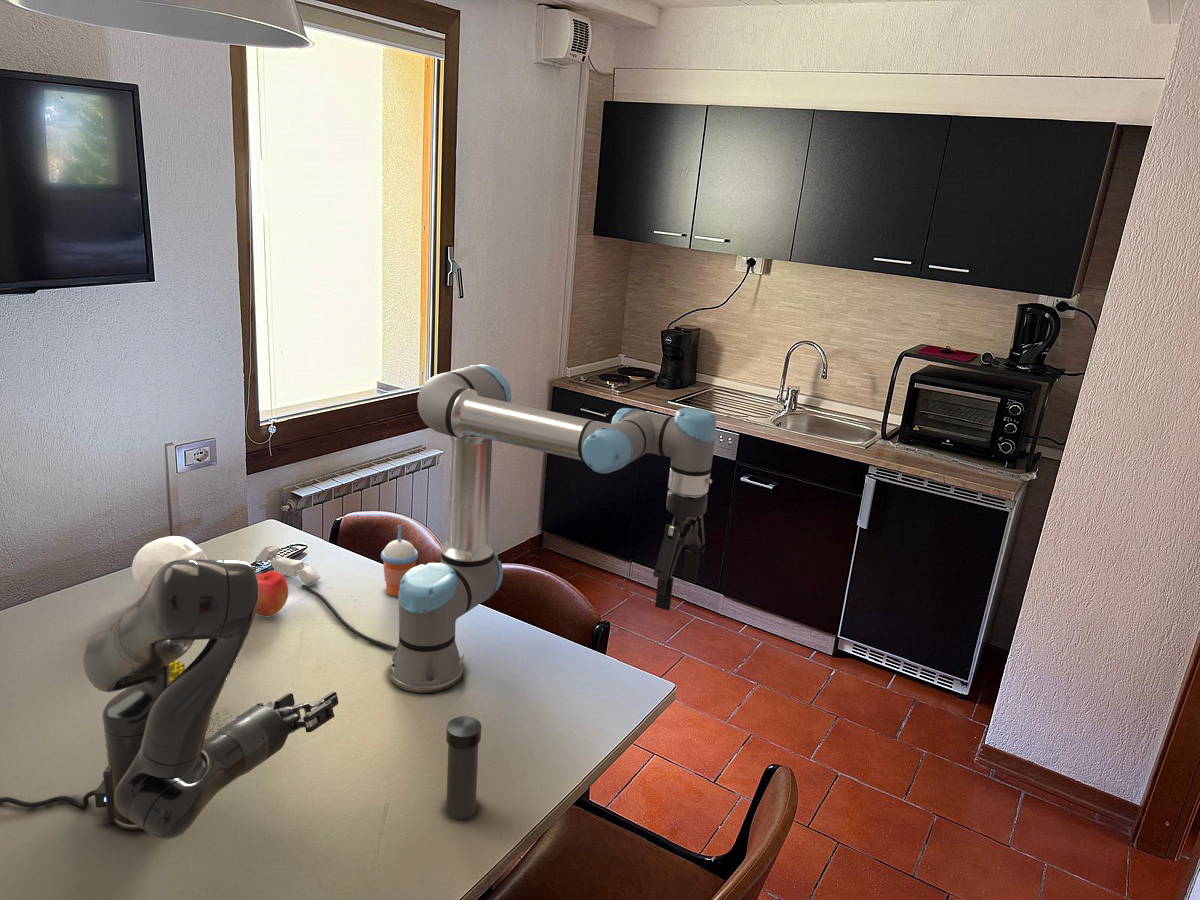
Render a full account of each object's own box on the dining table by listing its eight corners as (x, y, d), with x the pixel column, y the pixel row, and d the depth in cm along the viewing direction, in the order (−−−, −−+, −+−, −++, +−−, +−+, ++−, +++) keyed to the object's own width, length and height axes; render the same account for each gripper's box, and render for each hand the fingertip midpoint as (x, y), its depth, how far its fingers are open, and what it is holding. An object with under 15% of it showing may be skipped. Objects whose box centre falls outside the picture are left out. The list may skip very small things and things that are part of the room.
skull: (197, 623, 194) (195, 558, 190) (119, 603, 200) (115, 540, 196) (237, 600, 207) (236, 539, 203) (163, 582, 212) (160, 522, 208)
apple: (273, 600, 207) (272, 562, 204) (297, 613, 202) (296, 575, 199) (237, 614, 200) (234, 575, 197) (261, 628, 194) (259, 588, 191)
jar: (481, 811, 144) (484, 731, 140) (456, 823, 141) (458, 741, 136) (465, 795, 148) (468, 716, 143) (440, 806, 145) (442, 726, 140)
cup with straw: (408, 601, 212) (409, 534, 207) (374, 595, 213) (374, 529, 208) (423, 586, 220) (424, 521, 215) (390, 580, 222) (390, 516, 217)
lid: (487, 741, 140) (487, 728, 139) (458, 753, 137) (458, 741, 136) (468, 724, 144) (469, 712, 143) (439, 736, 140) (440, 723, 140)
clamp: (253, 565, 223) (254, 542, 221) (265, 560, 226) (266, 537, 224) (309, 593, 215) (310, 569, 213) (320, 588, 218) (321, 564, 216)
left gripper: (282, 717, 123) (346, 674, 138) (202, 718, 127) (273, 677, 143) (291, 766, 124) (354, 719, 139) (211, 766, 128) (281, 720, 143)
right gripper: (681, 516, 147) (669, 626, 153) (728, 478, 168) (716, 576, 174) (642, 506, 150) (631, 614, 156) (693, 470, 171) (682, 566, 178)
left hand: (313, 698), depth 141 cm, fingers open, 8 cm apart
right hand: (676, 594), depth 165 cm, fingers open, 13 cm apart
